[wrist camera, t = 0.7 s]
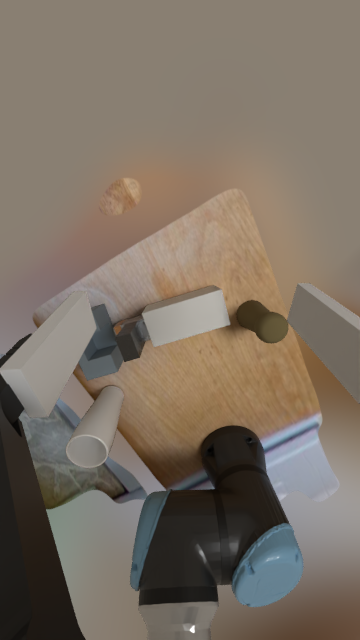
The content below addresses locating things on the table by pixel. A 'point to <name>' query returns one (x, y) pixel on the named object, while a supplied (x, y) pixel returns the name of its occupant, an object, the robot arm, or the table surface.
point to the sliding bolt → (131, 337)
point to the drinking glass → (96, 430)
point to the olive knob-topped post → (262, 321)
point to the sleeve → (186, 315)
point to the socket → (101, 348)
